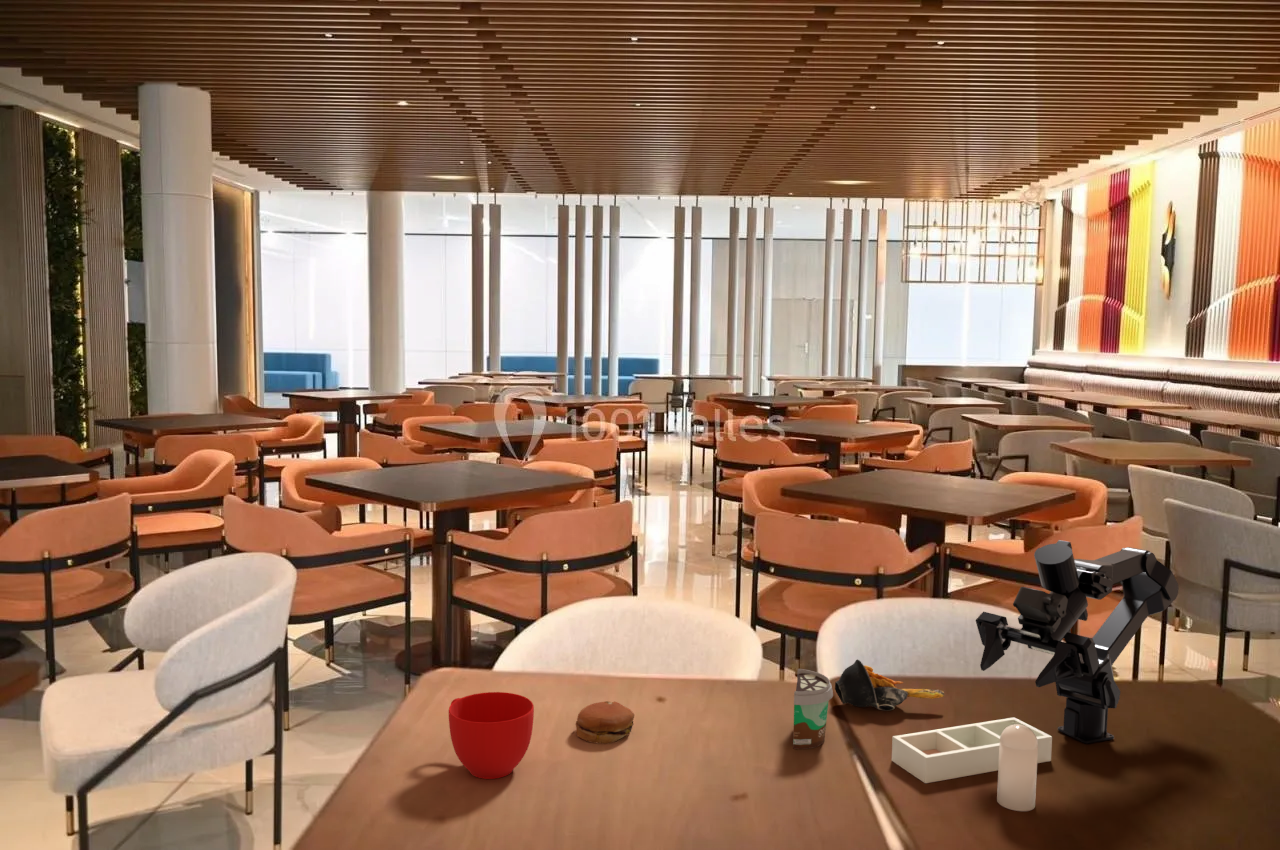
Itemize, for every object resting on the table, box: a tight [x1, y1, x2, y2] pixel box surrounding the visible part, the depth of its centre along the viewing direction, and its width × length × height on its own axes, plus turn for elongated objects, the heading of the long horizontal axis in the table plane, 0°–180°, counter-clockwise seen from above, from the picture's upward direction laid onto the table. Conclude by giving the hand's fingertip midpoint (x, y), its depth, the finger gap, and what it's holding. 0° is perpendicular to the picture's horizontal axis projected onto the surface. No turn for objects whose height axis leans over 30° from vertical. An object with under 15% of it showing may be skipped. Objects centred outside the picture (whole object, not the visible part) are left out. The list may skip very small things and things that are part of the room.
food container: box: [792, 668, 834, 750], centre depth 168 cm, size 12×6×10 cm, turn 168°
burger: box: [575, 700, 635, 745], centre depth 170 cm, size 10×9×5 cm
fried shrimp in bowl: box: [834, 659, 945, 711], centre depth 184 cm, size 9×11×18 cm
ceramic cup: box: [448, 691, 535, 780], centre depth 156 cm, size 13×17×10 cm
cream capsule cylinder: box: [996, 724, 1038, 812], centre depth 146 cm, size 5×5×12 cm
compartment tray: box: [891, 717, 1053, 784], centre depth 161 cm, size 24×9×4 cm, turn 111°
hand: (1008, 676), depth 154 cm, fingers open, 9 cm apart
